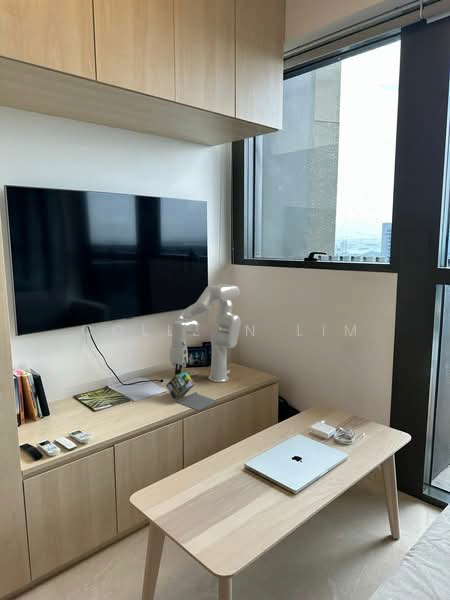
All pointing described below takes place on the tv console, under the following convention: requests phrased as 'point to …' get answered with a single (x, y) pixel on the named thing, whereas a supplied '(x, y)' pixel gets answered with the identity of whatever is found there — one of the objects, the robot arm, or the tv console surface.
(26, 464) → the tv console surface
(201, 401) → the mat
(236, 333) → the robot arm
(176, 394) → the chalk box
